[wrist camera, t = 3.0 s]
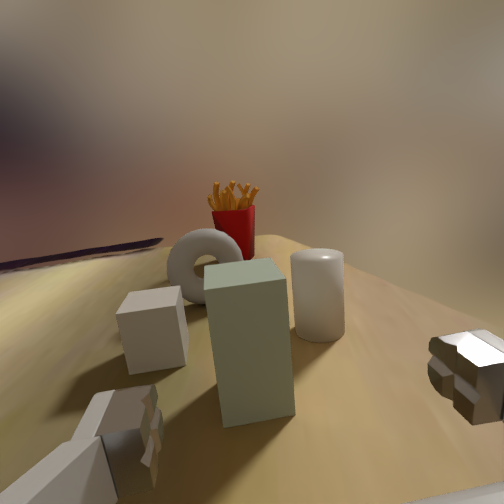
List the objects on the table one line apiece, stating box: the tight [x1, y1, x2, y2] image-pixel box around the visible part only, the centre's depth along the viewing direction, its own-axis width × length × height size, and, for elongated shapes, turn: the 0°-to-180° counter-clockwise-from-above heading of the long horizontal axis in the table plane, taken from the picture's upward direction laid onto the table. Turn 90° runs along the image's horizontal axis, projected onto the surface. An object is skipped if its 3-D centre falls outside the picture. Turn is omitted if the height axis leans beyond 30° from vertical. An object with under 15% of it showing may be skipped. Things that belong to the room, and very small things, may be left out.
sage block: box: [204, 257, 296, 428], centre depth 22 cm, size 5×5×10 cm
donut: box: [167, 229, 244, 304], centre depth 40 cm, size 10×4×10 cm, turn 110°
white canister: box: [290, 248, 345, 343], centre depth 31 cm, size 5×5×8 cm
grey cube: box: [115, 285, 189, 375], centre depth 30 cm, size 5×5×6 cm
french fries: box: [208, 181, 259, 261], centre depth 58 cm, size 9×8×15 cm
